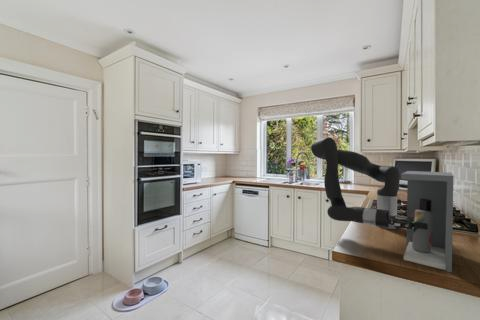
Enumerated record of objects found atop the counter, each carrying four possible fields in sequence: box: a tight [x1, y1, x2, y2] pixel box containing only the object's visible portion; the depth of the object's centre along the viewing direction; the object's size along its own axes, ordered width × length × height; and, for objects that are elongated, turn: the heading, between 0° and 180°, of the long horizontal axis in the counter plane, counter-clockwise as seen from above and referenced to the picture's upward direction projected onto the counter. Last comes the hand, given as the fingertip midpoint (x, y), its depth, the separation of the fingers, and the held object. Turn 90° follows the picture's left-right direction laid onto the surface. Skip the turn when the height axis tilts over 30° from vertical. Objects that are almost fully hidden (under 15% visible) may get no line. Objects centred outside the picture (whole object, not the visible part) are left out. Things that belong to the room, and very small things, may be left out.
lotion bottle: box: [412, 199, 434, 252], centre depth 89 cm, size 6×6×20 cm
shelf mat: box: [403, 242, 446, 271], centre depth 87 cm, size 19×12×2 cm, turn 138°
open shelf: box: [400, 170, 455, 273], centre depth 88 cm, size 22×14×32 cm, turn 138°
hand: (427, 225), depth 87 cm, fingers closed on lotion bottle, 2 cm apart
